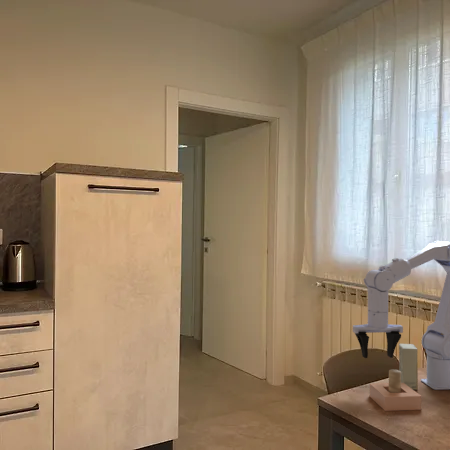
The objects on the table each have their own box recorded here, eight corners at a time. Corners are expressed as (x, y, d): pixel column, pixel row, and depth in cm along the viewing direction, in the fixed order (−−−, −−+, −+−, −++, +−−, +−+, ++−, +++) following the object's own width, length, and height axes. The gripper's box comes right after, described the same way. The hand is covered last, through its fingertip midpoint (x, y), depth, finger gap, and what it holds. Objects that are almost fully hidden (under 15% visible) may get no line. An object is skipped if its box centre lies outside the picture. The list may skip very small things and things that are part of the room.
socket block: (403, 395, 129) (403, 382, 129) (421, 409, 119) (421, 396, 119) (369, 396, 128) (369, 383, 128) (384, 410, 118) (385, 397, 118)
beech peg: (397, 397, 125) (397, 369, 125) (402, 402, 122) (403, 373, 122) (386, 398, 125) (386, 369, 125) (391, 402, 121) (392, 373, 121)
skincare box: (418, 390, 132) (418, 349, 132) (402, 389, 133) (402, 348, 133) (413, 382, 139) (413, 343, 139) (398, 381, 140) (398, 342, 139)
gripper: (359, 313, 127) (358, 361, 127) (408, 313, 129) (407, 360, 129) (350, 309, 134) (349, 354, 134) (396, 308, 136) (396, 353, 136)
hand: (377, 356), depth 132 cm, fingers open, 7 cm apart
